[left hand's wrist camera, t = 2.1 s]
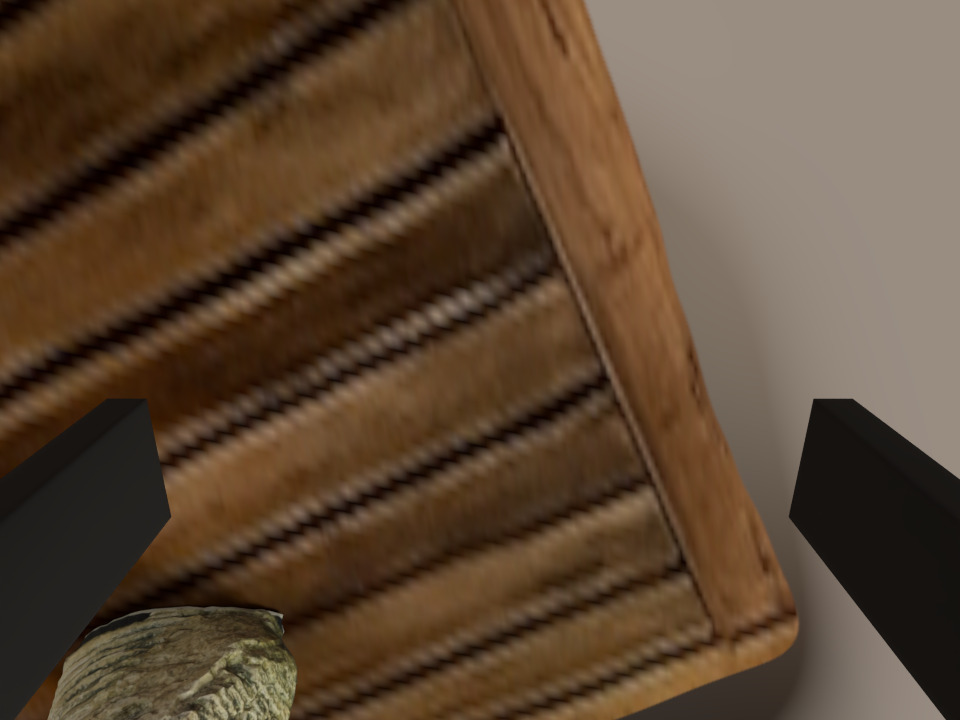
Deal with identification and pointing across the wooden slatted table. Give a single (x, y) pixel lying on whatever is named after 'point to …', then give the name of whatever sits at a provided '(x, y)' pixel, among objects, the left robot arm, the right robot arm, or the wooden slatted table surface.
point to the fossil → (180, 668)
